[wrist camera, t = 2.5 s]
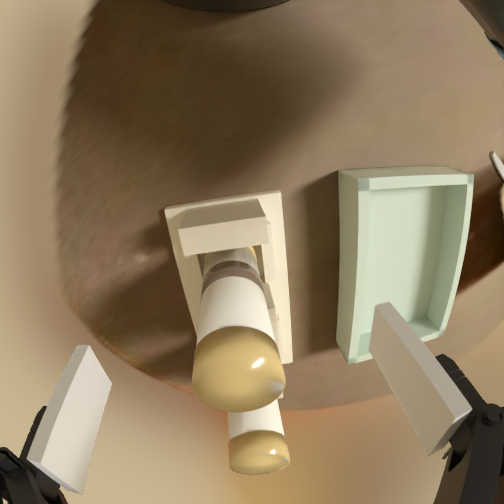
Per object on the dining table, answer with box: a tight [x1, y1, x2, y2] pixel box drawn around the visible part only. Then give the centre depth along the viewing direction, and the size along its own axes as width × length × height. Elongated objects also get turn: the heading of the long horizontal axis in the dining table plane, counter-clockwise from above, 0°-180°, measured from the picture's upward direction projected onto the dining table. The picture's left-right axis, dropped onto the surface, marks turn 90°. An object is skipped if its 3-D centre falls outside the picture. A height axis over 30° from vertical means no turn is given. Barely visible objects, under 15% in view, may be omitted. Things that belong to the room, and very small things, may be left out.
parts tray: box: [336, 166, 474, 365], centre depth 22 cm, size 16×11×4 cm
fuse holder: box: [164, 190, 293, 399], centre depth 21 cm, size 16×8×5 cm, turn 7°
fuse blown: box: [192, 246, 285, 412], centre depth 15 cm, size 4×4×12 cm
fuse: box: [228, 399, 290, 475], centre depth 19 cm, size 4×4×12 cm
